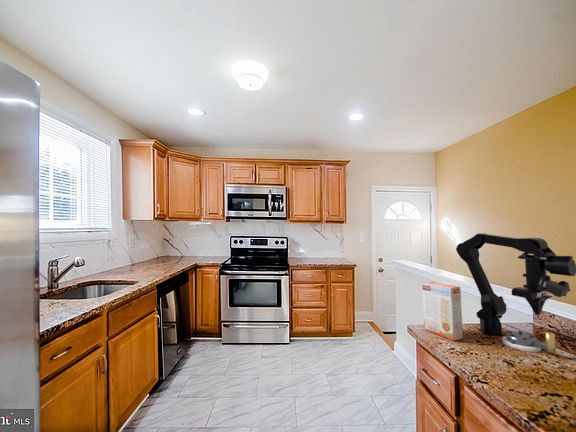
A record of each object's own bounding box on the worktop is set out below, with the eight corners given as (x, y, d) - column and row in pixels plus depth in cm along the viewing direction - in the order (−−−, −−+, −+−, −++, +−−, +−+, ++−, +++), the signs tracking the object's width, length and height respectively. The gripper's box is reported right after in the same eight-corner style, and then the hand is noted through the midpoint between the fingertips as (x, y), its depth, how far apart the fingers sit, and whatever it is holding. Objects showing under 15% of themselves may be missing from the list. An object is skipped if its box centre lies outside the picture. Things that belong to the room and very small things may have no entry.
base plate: (515, 351, 97) (514, 346, 97) (496, 339, 108) (495, 335, 108) (549, 352, 96) (549, 348, 96) (526, 340, 107) (526, 335, 107)
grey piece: (500, 338, 105) (499, 322, 105) (515, 335, 108) (514, 319, 108) (547, 354, 91) (546, 336, 91) (563, 350, 94) (561, 332, 94)
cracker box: (464, 339, 109) (461, 286, 110) (453, 341, 107) (450, 288, 108) (433, 327, 122) (431, 280, 123) (423, 329, 120) (421, 282, 121)
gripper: (546, 277, 90) (549, 325, 89) (579, 273, 96) (582, 318, 95) (509, 272, 100) (511, 315, 100) (541, 269, 106) (543, 309, 106)
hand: (537, 314), depth 100 cm, fingers closed
